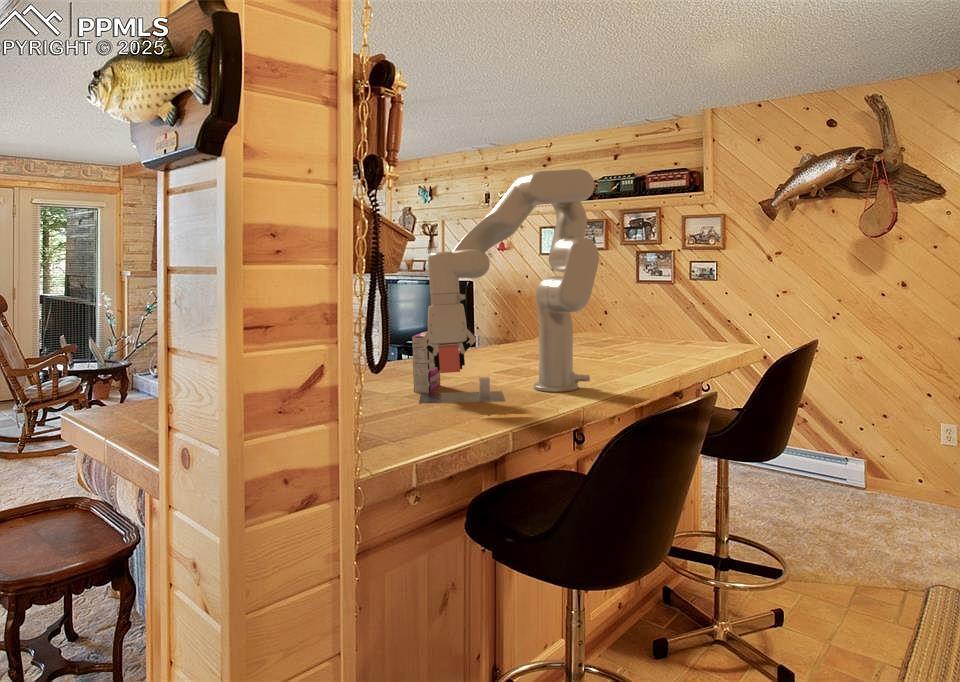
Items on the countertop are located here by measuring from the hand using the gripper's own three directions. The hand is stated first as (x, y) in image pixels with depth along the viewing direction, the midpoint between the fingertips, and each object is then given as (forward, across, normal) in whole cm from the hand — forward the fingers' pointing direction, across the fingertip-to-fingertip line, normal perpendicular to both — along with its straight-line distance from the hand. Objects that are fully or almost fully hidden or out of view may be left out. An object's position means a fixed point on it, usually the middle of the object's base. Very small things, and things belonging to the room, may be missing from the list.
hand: (450, 368), depth 170 cm
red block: (+1, 0, 0) cm, 1 cm away
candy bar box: (+9, +7, -12) cm, 17 cm away
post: (+9, -3, +1) cm, 9 cm away
